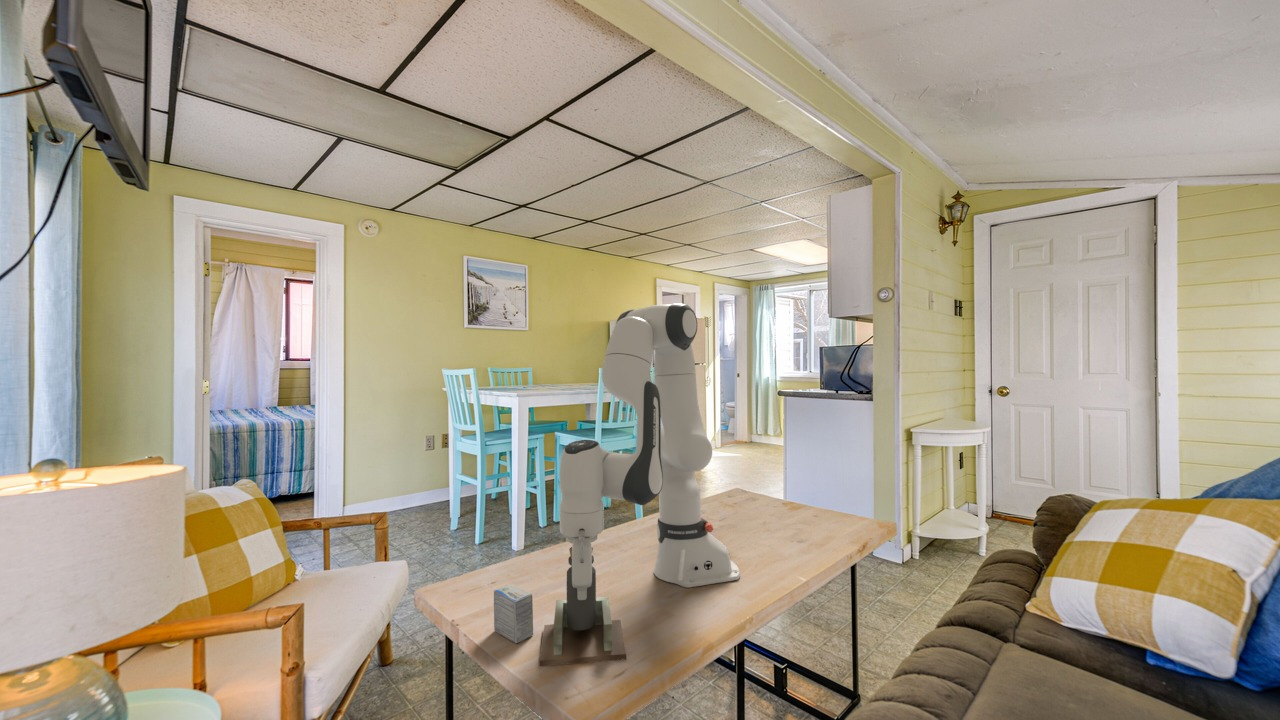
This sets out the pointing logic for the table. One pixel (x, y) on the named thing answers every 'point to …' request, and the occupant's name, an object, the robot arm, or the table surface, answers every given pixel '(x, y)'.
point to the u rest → (582, 638)
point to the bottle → (580, 602)
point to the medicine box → (513, 613)
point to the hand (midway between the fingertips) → (582, 590)
